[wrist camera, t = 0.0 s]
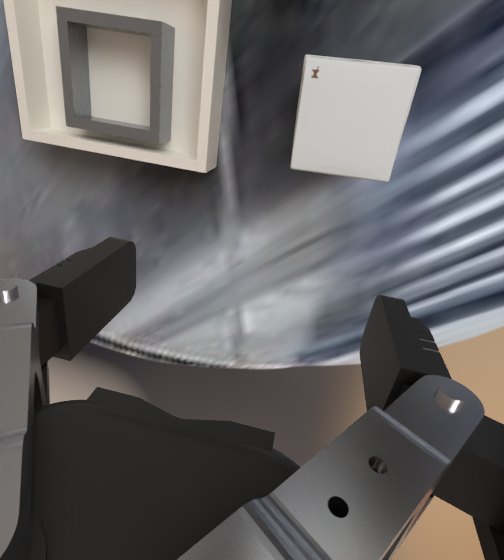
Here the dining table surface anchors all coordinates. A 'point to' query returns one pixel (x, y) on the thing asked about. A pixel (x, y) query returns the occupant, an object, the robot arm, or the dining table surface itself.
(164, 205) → the dining table surface
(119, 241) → the robot arm
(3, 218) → the dining table surface
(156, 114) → the inlet socket
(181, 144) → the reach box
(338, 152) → the supplement box
